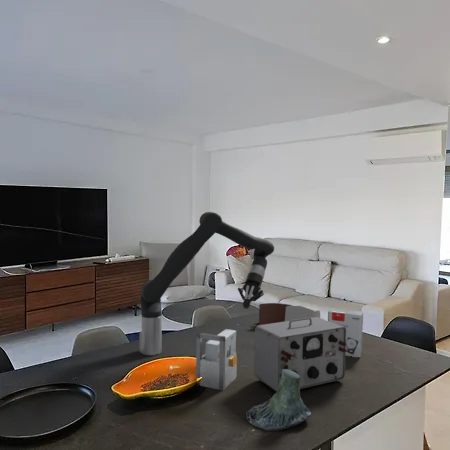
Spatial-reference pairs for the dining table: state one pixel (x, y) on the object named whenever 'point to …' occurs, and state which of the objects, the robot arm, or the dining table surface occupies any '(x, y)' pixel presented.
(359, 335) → the hard drive box
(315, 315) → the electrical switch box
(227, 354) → the skincare box
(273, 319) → the letter holder
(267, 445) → the dining table surface
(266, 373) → the vintage electronic device
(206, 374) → the rack bay
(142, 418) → the dining table surface
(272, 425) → the tree stump
